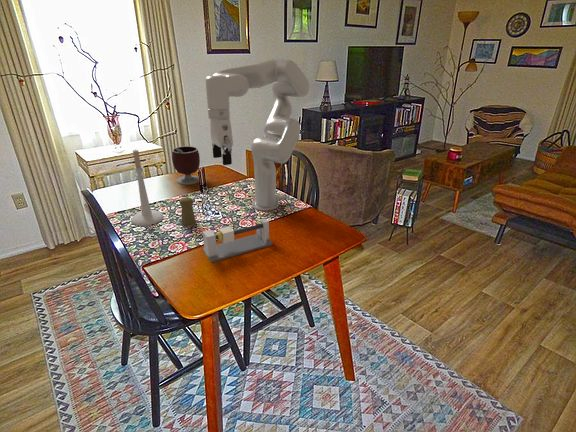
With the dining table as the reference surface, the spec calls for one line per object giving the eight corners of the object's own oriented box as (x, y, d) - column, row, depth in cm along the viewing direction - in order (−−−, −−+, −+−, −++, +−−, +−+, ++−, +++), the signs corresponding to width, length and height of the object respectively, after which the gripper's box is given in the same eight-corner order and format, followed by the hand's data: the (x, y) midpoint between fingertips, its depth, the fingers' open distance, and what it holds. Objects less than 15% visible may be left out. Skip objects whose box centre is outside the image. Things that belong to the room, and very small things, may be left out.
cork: (192, 226, 143) (189, 202, 139) (178, 225, 144) (175, 200, 140) (198, 220, 149) (196, 196, 144) (185, 218, 150) (182, 195, 145)
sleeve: (230, 235, 128) (229, 226, 127) (234, 240, 125) (233, 230, 124) (219, 238, 127) (218, 228, 125) (223, 243, 124) (223, 233, 122)
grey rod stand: (261, 234, 139) (261, 214, 135) (272, 244, 132) (272, 223, 128) (202, 250, 128) (200, 228, 124) (211, 262, 121) (209, 240, 117)
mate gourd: (183, 174, 198) (179, 139, 189) (206, 177, 195) (203, 141, 186) (168, 184, 185) (163, 147, 176) (192, 187, 182) (188, 149, 173)
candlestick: (129, 215, 151) (115, 147, 138) (160, 210, 157) (149, 143, 144) (133, 228, 141) (119, 155, 128) (166, 221, 147) (155, 151, 134)
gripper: (239, 117, 118) (241, 166, 126) (220, 108, 131) (223, 153, 139) (217, 119, 114) (221, 169, 122) (200, 110, 128) (204, 156, 135)
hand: (222, 160), depth 130 cm, fingers open, 9 cm apart
